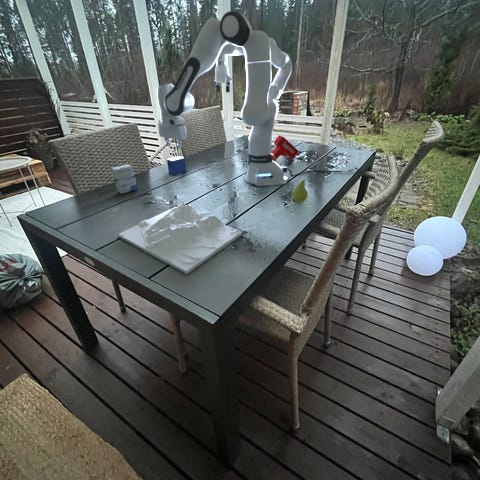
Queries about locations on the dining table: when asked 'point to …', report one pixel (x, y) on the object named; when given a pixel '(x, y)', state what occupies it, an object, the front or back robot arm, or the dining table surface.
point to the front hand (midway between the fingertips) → (174, 146)
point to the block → (176, 165)
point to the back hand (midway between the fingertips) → (223, 92)
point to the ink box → (124, 178)
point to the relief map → (181, 237)
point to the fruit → (300, 192)
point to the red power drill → (284, 148)
